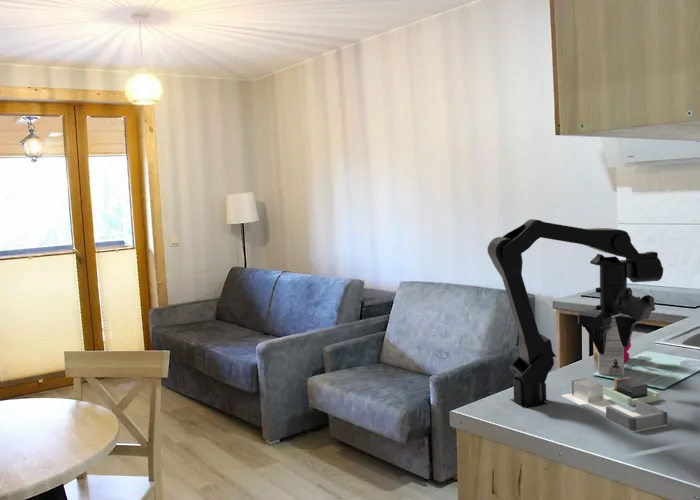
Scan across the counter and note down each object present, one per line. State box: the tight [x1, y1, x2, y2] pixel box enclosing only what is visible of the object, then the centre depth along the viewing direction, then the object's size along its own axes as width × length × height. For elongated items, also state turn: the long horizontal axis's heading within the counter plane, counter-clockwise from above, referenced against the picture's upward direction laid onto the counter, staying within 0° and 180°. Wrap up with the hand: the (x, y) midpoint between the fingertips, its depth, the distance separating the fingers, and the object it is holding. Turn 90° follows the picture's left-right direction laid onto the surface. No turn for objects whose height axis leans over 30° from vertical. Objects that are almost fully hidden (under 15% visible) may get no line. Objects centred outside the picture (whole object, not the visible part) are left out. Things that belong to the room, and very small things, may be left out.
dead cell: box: [571, 377, 604, 403], centre depth 145 cm, size 4×6×4 cm, turn 16°
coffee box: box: [591, 308, 625, 376], centre depth 165 cm, size 9×6×16 cm
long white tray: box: [560, 392, 668, 433], centre depth 138 cm, size 9×24×3 cm, turn 16°
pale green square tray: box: [603, 386, 662, 407], centre depth 145 cm, size 9×9×2 cm
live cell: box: [613, 376, 648, 399], centre depth 144 cm, size 4×6×4 cm, turn 16°
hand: (613, 350), depth 146 cm, fingers open, 9 cm apart
